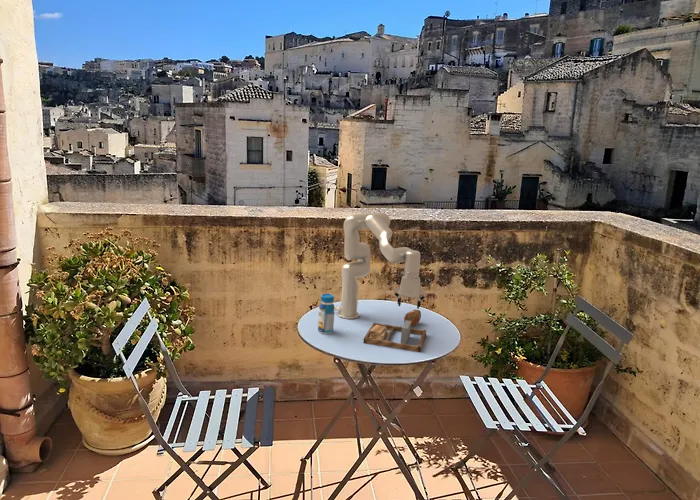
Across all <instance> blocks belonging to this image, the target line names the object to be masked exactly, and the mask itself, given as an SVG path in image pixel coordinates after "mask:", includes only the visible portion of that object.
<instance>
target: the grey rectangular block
mask: <svg viewBox="0 0 700 500" xmlns="http://www.w3.org/2000/svg"><path fill="white" fill-rule="evenodd" d="M401 327H402V332H400V334H401V335H400V343H402V344H408V343H409V339H410V337H411V334H410V328H412V327H411V321H407V320H405V322H404V321H403V325H402V326H401Z"/></svg>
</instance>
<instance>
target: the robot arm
mask: <svg viewBox="0 0 700 500" xmlns="http://www.w3.org/2000/svg"><path fill="white" fill-rule="evenodd" d="M390 224H391V218H390V216H389V215H388V214H387V213H385V212H376V213H375V212H374V213H358V214H352V215H351V214H350V215H348V216H347V217H346V218H345V220H344V221H343V232H344V233H343V234H344V246H343V247H344V249H343V250H344V251H343V253H344V257H345V259H346V260H347V261H350V262H347V263H345V264H343V266H342V267H341V269H340V270H341V271H340V272H341V280H342V283H341V286H342V287H341V299H340V306H336V305H334V307H335V309H334V312H335V311H336V312H337V316H338V317H340V318H342V319H345V320H347V319H348V320H353V319H354V320H355V319H358V318H359V317H360V313H359V311H358V303H359V302H358V300H359V289H360V288H359V287H360V286H359V282H358V281H357V279H359V278H364V277H367V276H368V275H369V274H370V272H371V271H370V270H371V248H370V246H369V245H368V243H367V242H363V241H361V242H360V239H361V238H360V237H361V236H360V234H359V231H361V230H370V231H371V233H372V234H373V235H374V237H375V238H377V240H378V241H379V242H378V243H379V250H380V252H381V254H382V256H384V258H385V259H386V261H387V262H389V263H391V264H397V263H398V264H399V263H404V268H403V269H404V270H402V271H401V275H402V277H401V280H400V284H399V285H400V286H398V287H395V288H393V293H394V295H395V297H396V299H397V305H398V307H401V305H402V297H404V298H405V297H406V298H414V299H417V305H416V308H417V309H416V310H420V308H421V306H422V305H421V304H422V301H423V300H424V299H425V298H426V296H427V295H428V293H427V292H426V291H425V290H423V289H421V278H420V266H421V252H420V251H419V250H415V249H411V248H410V247H407V246H402V247H396V248H394V247H393V246H392V245H391V244H390V242H389V240H390V239H391V238H392V236H393V231H392V229H391V228H390ZM356 260H357V261H356ZM351 261H352V262H351ZM397 291H399V292H397ZM420 294H422V296H421V295H420Z"/></svg>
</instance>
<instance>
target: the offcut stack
mask: <svg viewBox="0 0 700 500" xmlns="http://www.w3.org/2000/svg"><path fill="white" fill-rule="evenodd" d="M370 334H371V335H370V336H369V338H371V339H377V340H383V341H384V340H385V339H386V337H387V335H388V330H386V326H381V325H375V326H374V327H373V328H372V329H371V330H370Z"/></svg>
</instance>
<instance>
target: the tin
mask: <svg viewBox="0 0 700 500" xmlns="http://www.w3.org/2000/svg"><path fill="white" fill-rule="evenodd" d="M403 318H404V319H403V323H404V322H405V320H407V321H411V328H413V327H415V326H417V325H418V324H419V323H420V322H421V320H422V319H421V318H422V313H421V310H420V309H413V310H411V311H408V312H406V314H405V315H404V317H403ZM417 323H418V324H417ZM416 324H417V325H416ZM414 325H415V326H414ZM412 326H413V327H412Z"/></svg>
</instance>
